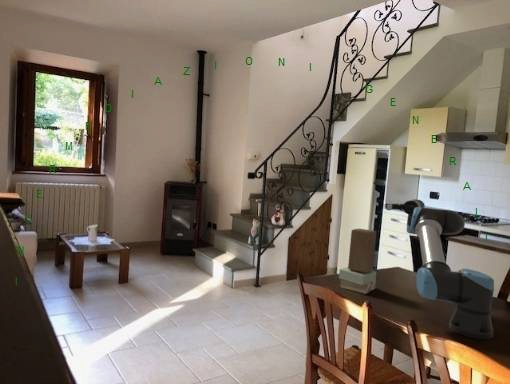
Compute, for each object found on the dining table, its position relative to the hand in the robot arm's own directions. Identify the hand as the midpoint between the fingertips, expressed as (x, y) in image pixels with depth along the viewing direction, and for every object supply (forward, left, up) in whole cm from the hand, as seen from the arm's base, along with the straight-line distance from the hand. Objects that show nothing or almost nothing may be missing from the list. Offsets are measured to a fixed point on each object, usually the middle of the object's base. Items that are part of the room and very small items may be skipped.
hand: (401, 209), depth 208 cm
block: (-15, +13, -31) cm, 37 cm away
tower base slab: (-15, +13, -41) cm, 45 cm away
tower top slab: (-16, +13, -36) cm, 41 cm away
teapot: (+12, -30, -40) cm, 52 cm away
